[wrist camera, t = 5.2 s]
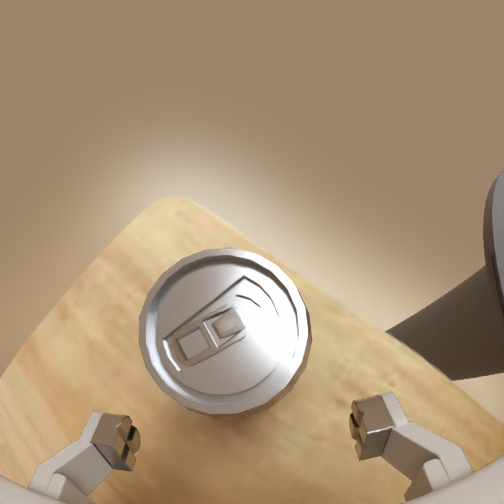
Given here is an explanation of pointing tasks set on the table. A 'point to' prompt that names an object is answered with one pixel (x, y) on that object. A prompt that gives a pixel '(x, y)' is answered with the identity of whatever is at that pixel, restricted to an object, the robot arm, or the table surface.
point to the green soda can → (225, 333)
